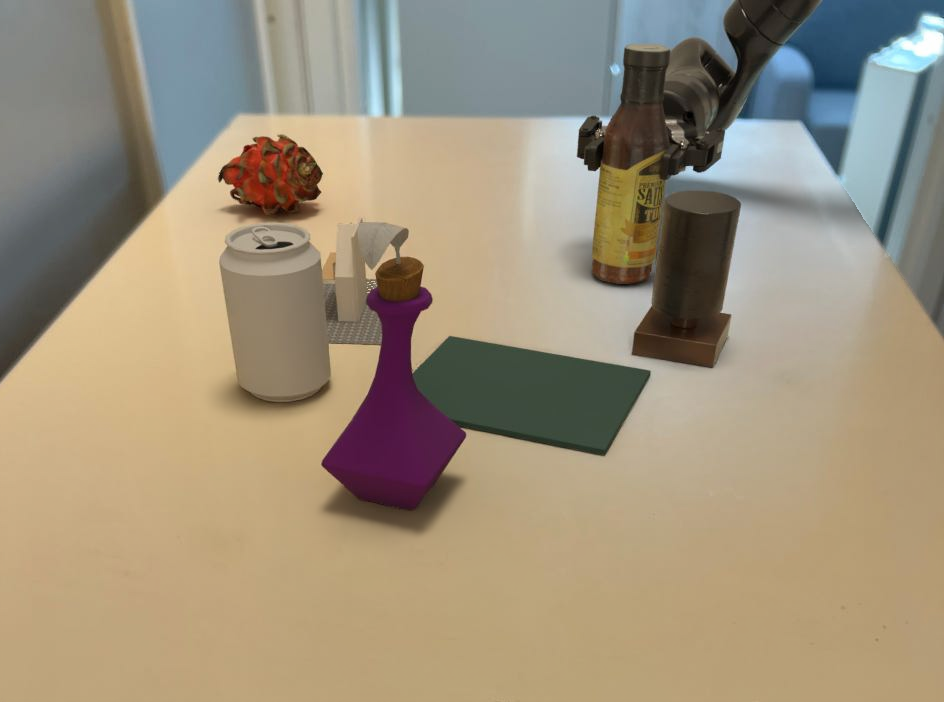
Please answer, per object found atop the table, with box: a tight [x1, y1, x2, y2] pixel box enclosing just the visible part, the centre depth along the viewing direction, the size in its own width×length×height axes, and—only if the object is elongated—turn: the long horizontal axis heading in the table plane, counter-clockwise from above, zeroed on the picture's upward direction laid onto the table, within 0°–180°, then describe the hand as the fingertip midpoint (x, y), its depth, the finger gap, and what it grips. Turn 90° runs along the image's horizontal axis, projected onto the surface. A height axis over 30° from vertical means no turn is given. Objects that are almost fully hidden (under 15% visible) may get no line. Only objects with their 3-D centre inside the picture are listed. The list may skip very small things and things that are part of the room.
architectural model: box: [322, 215, 382, 345], centre depth 90 cm, size 3×7×7 cm, turn 177°
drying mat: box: [412, 335, 652, 456], centre depth 79 cm, size 18×14×1 cm
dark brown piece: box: [631, 189, 742, 368], centre depth 83 cm, size 7×7×12 cm
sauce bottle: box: [591, 43, 671, 285], centre depth 92 cm, size 6×6×20 cm
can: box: [218, 221, 332, 403], centre depth 76 cm, size 8×8×12 cm
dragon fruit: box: [217, 134, 324, 217], centre depth 111 cm, size 8×8×12 cm
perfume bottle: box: [320, 221, 467, 511], centre depth 62 cm, size 8×8×18 cm
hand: (628, 163), depth 90 cm, fingers closed on sauce bottle, 6 cm apart
